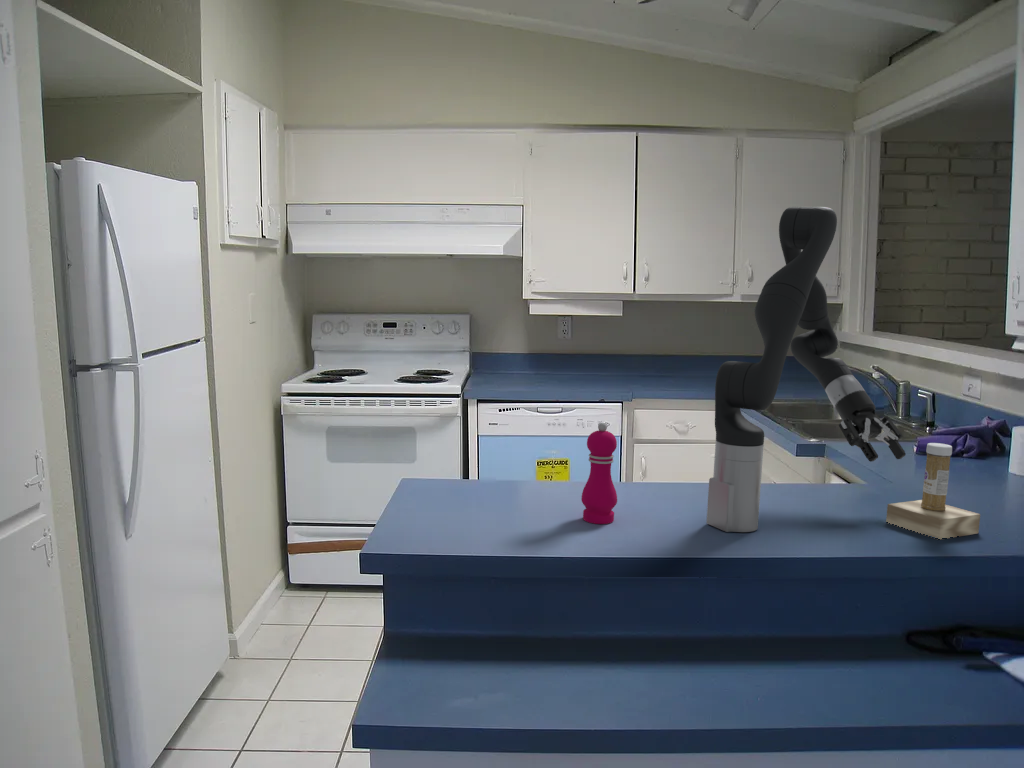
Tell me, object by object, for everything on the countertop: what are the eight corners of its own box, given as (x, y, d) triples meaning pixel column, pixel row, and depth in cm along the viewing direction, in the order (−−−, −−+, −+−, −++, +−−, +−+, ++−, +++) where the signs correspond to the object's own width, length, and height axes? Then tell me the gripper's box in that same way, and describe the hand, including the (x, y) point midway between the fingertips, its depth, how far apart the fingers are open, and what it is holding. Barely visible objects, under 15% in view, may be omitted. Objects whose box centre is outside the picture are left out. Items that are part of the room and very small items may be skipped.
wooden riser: (938, 539, 150) (940, 519, 150) (886, 522, 161) (887, 504, 161) (978, 533, 156) (980, 514, 155) (924, 517, 166) (926, 499, 166)
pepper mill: (574, 516, 159) (578, 420, 156) (605, 513, 161) (610, 419, 159) (590, 526, 152) (594, 426, 150) (622, 523, 155) (627, 425, 152)
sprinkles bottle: (916, 505, 160) (922, 442, 159) (936, 505, 161) (943, 442, 159) (929, 511, 156) (936, 446, 154) (950, 511, 156) (957, 446, 155)
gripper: (837, 390, 171) (876, 450, 162) (882, 388, 177) (922, 447, 168) (816, 410, 176) (854, 470, 167) (861, 407, 182) (899, 465, 173)
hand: (888, 458), depth 167 cm, fingers open, 8 cm apart
